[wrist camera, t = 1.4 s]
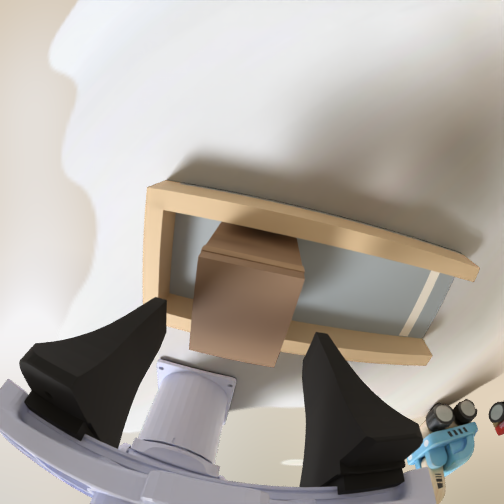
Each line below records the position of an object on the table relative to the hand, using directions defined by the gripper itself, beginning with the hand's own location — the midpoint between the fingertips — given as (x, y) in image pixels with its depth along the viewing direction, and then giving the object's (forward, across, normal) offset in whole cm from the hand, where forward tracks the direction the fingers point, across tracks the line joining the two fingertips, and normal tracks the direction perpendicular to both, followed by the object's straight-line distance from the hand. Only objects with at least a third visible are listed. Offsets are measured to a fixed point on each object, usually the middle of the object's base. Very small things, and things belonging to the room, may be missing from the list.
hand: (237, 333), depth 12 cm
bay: (+8, -5, 0) cm, 9 cm away
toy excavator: (+8, -29, +19) cm, 36 cm away
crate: (+7, 0, 0) cm, 7 cm away
